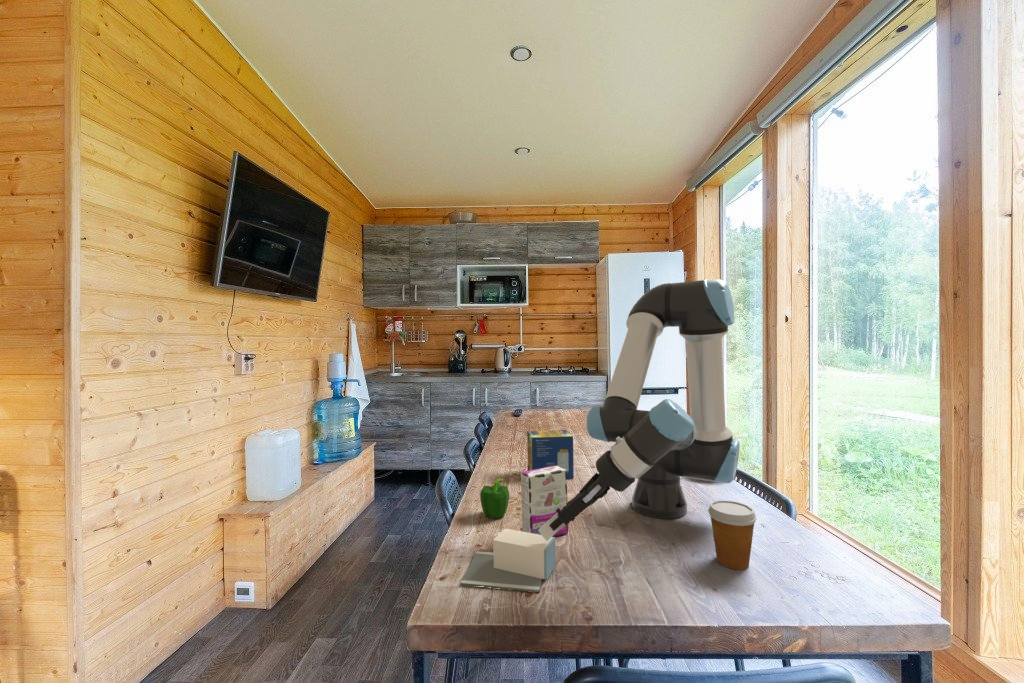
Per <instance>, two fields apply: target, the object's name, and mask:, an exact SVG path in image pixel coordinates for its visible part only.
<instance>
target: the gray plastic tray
mask: <svg viewBox="0 0 1024 683" xmlns="http://www.w3.org/2000/svg"><path fill="white" fill-rule="evenodd" d="M542 580H543V579H541V578H536V577H532V576H528V575H523V574H519V573H514V572H510V571H506V570H501V569H497V568H494V554H493V552H488V551H476V552H475V555H474V557H473V558H472V560H471V562H470V564H469V566H468V568H467V570H466V572H465V573H464V575H463V578H462V579H461V580H460V582H459V583H460V586H461V585H462V586H461V587H469V586H484V587H491V588H500V589H499V590H502V589H511V590H510V591H513V590H519V591H518V592H524V591H530V592H529V593H535V592H539V591H540V592H541V587H542V583H543V582H542ZM540 586H541V587H540ZM491 588H490V589H491ZM540 592H539V593H540Z"/></svg>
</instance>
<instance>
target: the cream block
mask: <svg viewBox="0 0 1024 683" xmlns="http://www.w3.org/2000/svg"><path fill="white" fill-rule="evenodd" d="M492 542H493V544H492V546H493V552H492V553H493V554H494V568H497V569H501V570H506V571H510V572H514V573H519V574H523V575H528V576H532V577H536V578H541V579H542V580H546V581H548V578H549V577H550V575H551V574H552V572H553V570H554V569H555V567H556V566H557V564H556V563H557V562H556V561H557V557H556V556H557V555H556V553H557V551H556V550H557V548H556V546H557V544H556V537H551V538H550V539H549V540H547V541H546V540H545V539H544V537H543V536H542V535H539V534H533V533H528V532H522V530H521V531H520V530H516V529H510V528H504V529H503V530H502V531H500V533H499V534H498V535H497V536H496V537H495V538H493V541H492Z"/></svg>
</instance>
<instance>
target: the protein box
mask: <svg viewBox="0 0 1024 683" xmlns="http://www.w3.org/2000/svg"><path fill="white" fill-rule="evenodd" d="M526 438H527V439H526V440H527V441H526V442H527V444H526V446H527V471H530V470H535V469H540V468H546V467H551V466H559V467H561V468H564V469H566V473H567V480H574V479H575V476H574V474H575V471H574V469H575V468H574V465H575V464H574V436H573V435H572V434H571V433H570V432H569V431H568V430H566V429H558V430H557V429H556V430H555V429H554V430H532V431H528V430H527V433H526ZM573 478H574V479H573Z"/></svg>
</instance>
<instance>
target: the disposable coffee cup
mask: <svg viewBox="0 0 1024 683" xmlns="http://www.w3.org/2000/svg"><path fill="white" fill-rule="evenodd" d="M707 513H708V515H709V516H710V522H711V528H712V536H713V542H714V548H715V556H716V561H717V563H719V564H720V565H721V566H723V567H726V568H729V569H732V570H746V569H748V568H749V566H750V560H751V553H752V551H751V550H752V543H753V538H754V537H753V535H754V528H755V523H756V521H757V519H758V517H757V515H756V512H755V509H754V508H753V507H751V506H750V505H749V504H747V503H742V502H739V501H733V500H725V499H724V500H722V499H721V500H714V501H711V502H710V504H709V508H708V509H707Z"/></svg>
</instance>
